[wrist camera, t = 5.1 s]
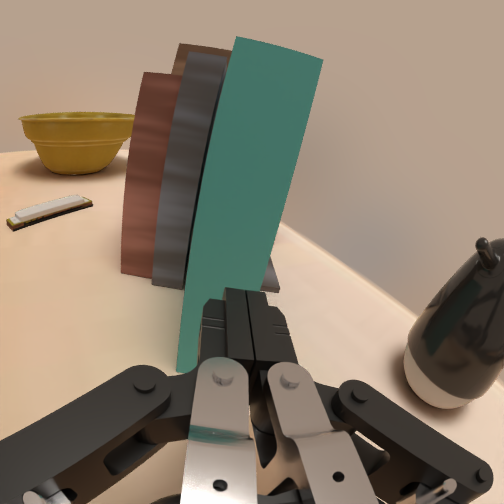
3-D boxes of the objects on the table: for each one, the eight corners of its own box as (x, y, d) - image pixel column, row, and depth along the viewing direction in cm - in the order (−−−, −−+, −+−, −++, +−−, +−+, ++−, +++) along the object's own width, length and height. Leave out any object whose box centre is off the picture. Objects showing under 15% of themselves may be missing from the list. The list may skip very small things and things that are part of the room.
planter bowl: (-9, 185, 38) (-7, 120, 32) (45, 155, 65) (49, 111, 59) (130, 192, 49) (140, 120, 43) (143, 160, 76) (151, 115, 70)
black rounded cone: (371, 350, 25) (443, 200, 18) (439, 349, 26) (503, 230, 20) (411, 436, 16) (538, 263, 9) (479, 414, 17) (571, 282, 11)
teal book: (232, 378, 19) (323, 59, 10) (176, 371, 18) (236, 36, 10) (227, 266, 33) (270, 88, 25) (193, 261, 32) (229, 79, 24)
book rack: (291, 305, 29) (367, 56, 18) (114, 277, 26) (154, 6, 15) (270, 242, 42) (316, 74, 32) (148, 221, 39) (180, 45, 28)
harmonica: (13, 234, 27) (12, 220, 26) (7, 227, 28) (5, 214, 27) (92, 208, 40) (93, 196, 39) (82, 203, 41) (83, 192, 40)
